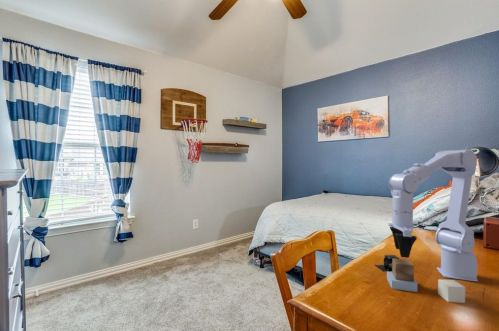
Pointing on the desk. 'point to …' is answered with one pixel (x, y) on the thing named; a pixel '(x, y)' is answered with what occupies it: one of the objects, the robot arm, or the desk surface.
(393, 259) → the walnut cube
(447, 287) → the cream cube
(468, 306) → the desk surface
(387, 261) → the black rectangular box
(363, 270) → the desk surface
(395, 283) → the blue slab
